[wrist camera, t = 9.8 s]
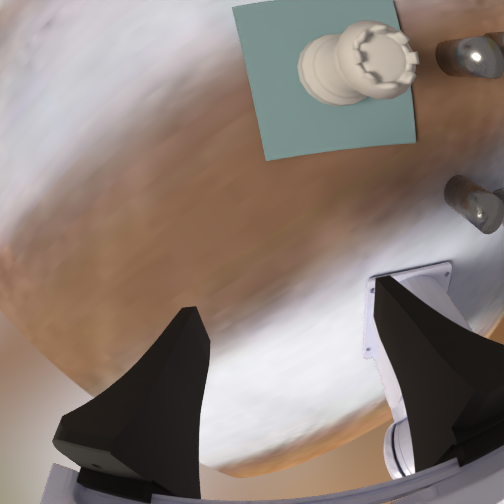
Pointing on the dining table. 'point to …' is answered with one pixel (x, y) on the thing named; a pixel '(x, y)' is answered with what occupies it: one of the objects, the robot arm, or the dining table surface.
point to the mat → (293, 92)
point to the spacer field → (486, 66)
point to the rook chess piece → (358, 64)
